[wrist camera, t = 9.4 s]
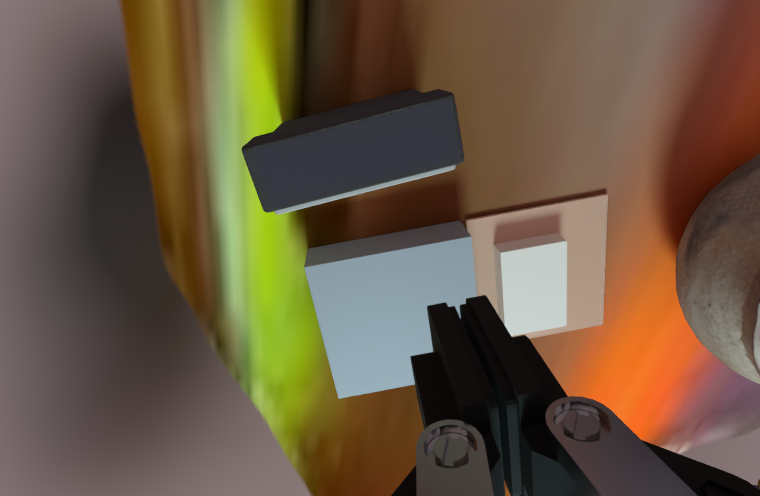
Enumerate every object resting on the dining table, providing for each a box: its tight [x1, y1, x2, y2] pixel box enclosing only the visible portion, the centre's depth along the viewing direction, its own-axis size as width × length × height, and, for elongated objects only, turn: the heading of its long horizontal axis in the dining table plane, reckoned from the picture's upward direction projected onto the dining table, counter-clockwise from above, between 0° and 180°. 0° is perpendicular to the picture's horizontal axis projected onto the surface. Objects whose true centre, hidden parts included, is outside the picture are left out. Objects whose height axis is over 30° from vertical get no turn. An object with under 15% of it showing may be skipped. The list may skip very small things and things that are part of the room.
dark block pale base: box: [242, 89, 464, 214], centre depth 29 cm, size 11×4×15 cm, turn 104°
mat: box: [465, 193, 608, 338], centre depth 43 cm, size 14×13×1 cm
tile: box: [493, 233, 567, 336], centre depth 42 cm, size 9×6×2 cm, turn 9°
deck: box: [304, 220, 477, 398], centre depth 41 cm, size 14×14×4 cm
